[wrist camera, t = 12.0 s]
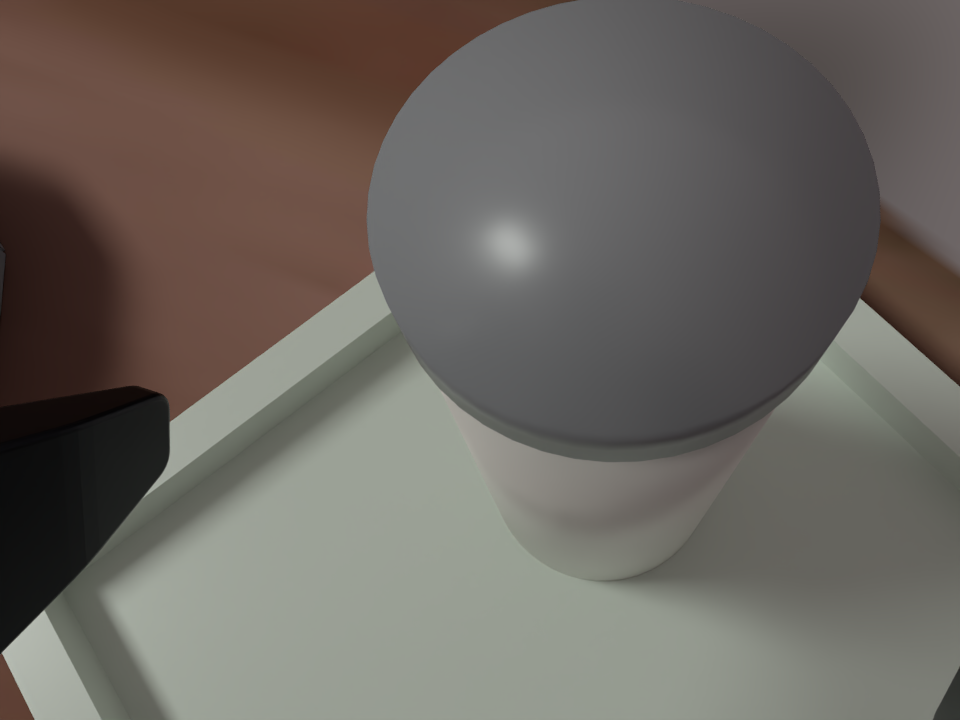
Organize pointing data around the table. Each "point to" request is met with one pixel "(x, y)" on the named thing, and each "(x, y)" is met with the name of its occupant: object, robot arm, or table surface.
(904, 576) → the tray
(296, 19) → the table surface
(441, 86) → the canister
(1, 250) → the collar
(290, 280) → the table surface
